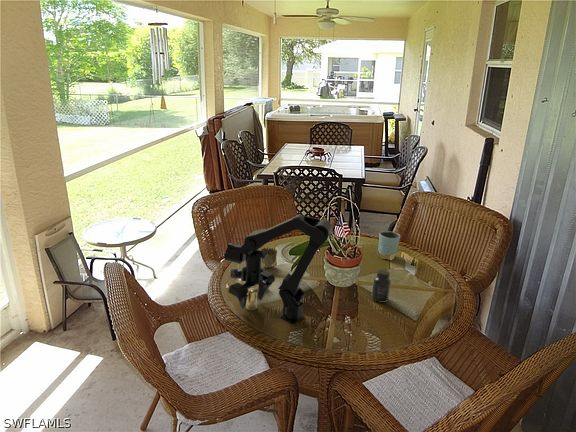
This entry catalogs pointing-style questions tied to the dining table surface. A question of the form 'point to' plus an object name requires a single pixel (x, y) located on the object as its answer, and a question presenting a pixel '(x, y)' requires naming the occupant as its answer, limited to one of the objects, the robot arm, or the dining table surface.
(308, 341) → the dining table surface
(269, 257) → the cup
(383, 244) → the teal plant pot
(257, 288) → the jig
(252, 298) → the gold metal cylinder
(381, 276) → the supplement bottle
